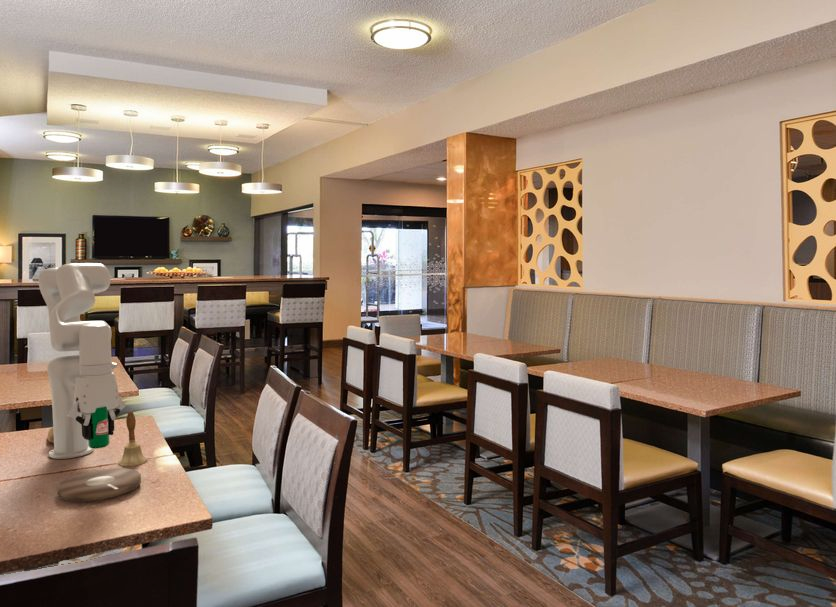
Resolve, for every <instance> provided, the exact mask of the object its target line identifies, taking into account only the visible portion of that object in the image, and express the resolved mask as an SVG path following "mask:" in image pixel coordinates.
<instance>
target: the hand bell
mask: <svg viewBox="0 0 836 607" xmlns="http://www.w3.org/2000/svg"><path fill="white" fill-rule="evenodd" d="M125 424H126V427H127V430H128V443H126V444H125V445H124V447H123V453H122V456H121V458H120V459H119V461H118V462H117V464H118V466H120V467H136V466H140V465H142V464H146V463H147V462H148V457H147V456H145V455H144V453H143V451H142V447H141V444H140V443H138V442H136V436H135V429H136V424H137V422H136V417H135V414H134V412H133V410H130V411H127V416H126V422H125Z"/></svg>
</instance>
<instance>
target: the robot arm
mask: <svg viewBox="0 0 836 607" xmlns="http://www.w3.org/2000/svg"><path fill="white" fill-rule="evenodd" d="M37 280H38V286H39V291H40V294H41V295H42V298H43V300H44V302H45V304H46V307H47V309H48V319H49V321H48V324H49V334H50V342H51V346H52V349H53V350H54V351H56V352H61V353H65V352H66V353H67V352H68V353H69V352H78V353H79V354H76V355H75V354H74V355H65V356H64V355H63V356H58V357H56V358H54V359H52V360H50V361H49V363H48V364H47V367H46V368H47V370H46V372H47V376H48V382H49V386H50V387H49V388H50V392H51V406H52V428H53V432H54V443H53V449H50V450H49V451H48V457H50V458H51V459H56V460H61V459H63V460H64V459H65V460H66V459H72V458H73V459H74V458H79V457H82V456H85V455H88V454H90V453H92V452H94V450H95V449H94V448H90V447H89V446H88V440H91V439H92V436H91V425H89V421H90V417H91V414H93V413H95V411H96V408H98V407H99V406H106V407H107V410H108V414H109V436H113V435H114V431H115V420H116V419H117V416H118V415H119V414H120V412H122V410H124V409H125V407H126V406H127V404H126V403H125V401H123V399H121V397H119V390H118V389H119V388H118V383H117V379H116V375H115V373H114V372H113V370H114V369H116V368H117V367H118V366H117V363H116V362H113V361H112V344H111V343H112V342H111V341H112V336H113V335H112V333H113V332H112V327H111V326H110V325H109V324H108V323H107V322H106V321H105V320H81V317H80V315H83V314H85V313H86V312H88V311H90V310H91V309H92V308H93V307H94V306H95V304H96V297H95V294H99V293H102V292H105V291H107V290H108V289H109V287H110V286H111V274H110V271H109V269H108V268H107V266H106V265H104V264H103V263H98V262H95V263H94V262H84V263H83V262H80V263H78V262H73V263H66V264H62V265H60V266H59V267H57V266H56V267H49V268H45V269H43V270H41V271H40V272H39V274H38V279H37Z"/></svg>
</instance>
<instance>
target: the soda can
mask: <svg viewBox="0 0 836 607" xmlns="http://www.w3.org/2000/svg"><path fill="white" fill-rule="evenodd" d="M89 425H91V436H92V439H91V440H88V446H89V447H90V448H94V450H95V449H96V450H97V449H102V448H106V447H107V446H109V445H110V442H111V441H110V435H109V414H108V410H107V407H106V406H99V407H98V408H96V411H95V413H93V414H91V417H90V421H89Z"/></svg>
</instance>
